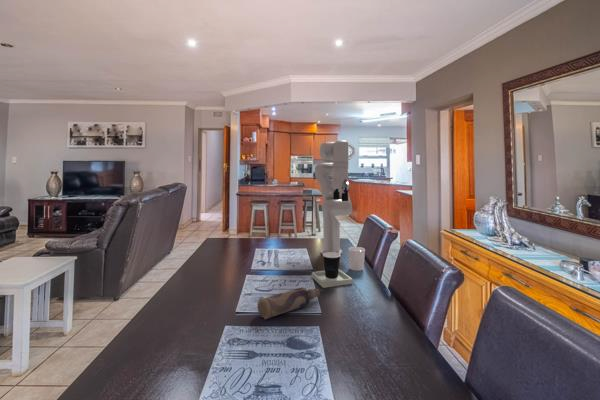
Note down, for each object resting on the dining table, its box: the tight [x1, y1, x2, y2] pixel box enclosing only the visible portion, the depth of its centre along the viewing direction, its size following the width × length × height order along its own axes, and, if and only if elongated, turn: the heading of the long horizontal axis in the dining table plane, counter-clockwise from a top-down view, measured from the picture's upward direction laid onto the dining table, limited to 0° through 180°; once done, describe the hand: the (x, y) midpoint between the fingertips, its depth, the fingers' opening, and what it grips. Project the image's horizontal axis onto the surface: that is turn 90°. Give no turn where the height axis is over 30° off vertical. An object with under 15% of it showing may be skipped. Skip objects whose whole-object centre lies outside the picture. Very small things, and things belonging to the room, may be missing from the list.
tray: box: [311, 269, 354, 289], centre depth 130 cm, size 14×14×2 cm
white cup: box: [348, 246, 366, 272], centre depth 144 cm, size 8×8×10 cm
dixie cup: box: [322, 252, 342, 281], centre depth 129 cm, size 8×8×11 cm
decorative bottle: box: [257, 287, 323, 320], centre depth 103 cm, size 26×8×7 cm, turn 126°
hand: (340, 200), depth 148 cm, fingers open, 9 cm apart
